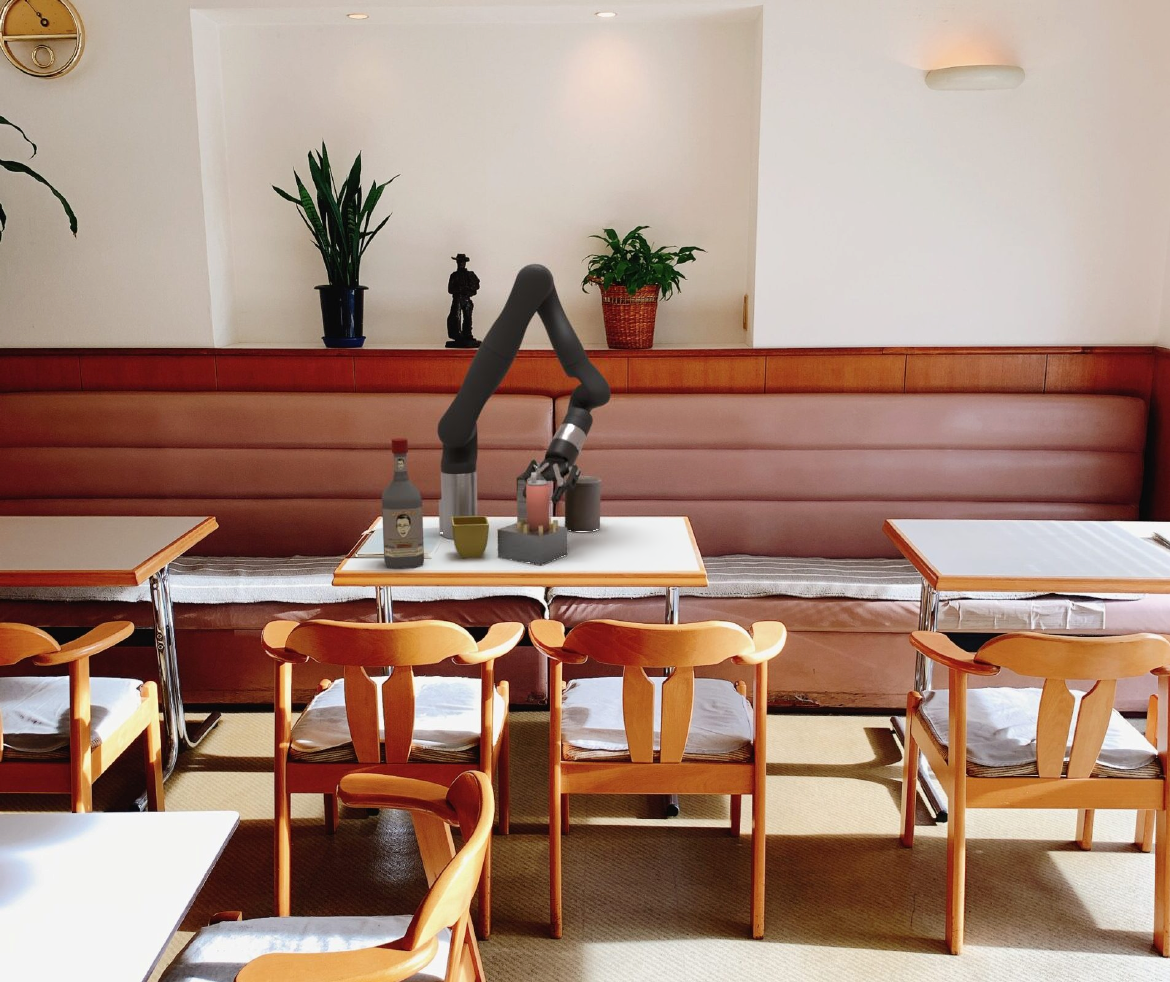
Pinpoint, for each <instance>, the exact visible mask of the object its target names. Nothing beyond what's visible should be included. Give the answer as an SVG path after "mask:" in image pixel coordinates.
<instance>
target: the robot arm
mask: <svg viewBox="0 0 1170 982" xmlns="http://www.w3.org/2000/svg"><path fill="white" fill-rule="evenodd" d="M536 313H537V315H538V316H539V318H540V321H541V322H542V325H543V326H544V327H543V328H545V331H546V334H547V337H548V338H549V339H548V340H549V342H550V343H551V344H550V345H551V346H552V349H553V352H554V354H555V355H556V358H557V360H558V362H559V364H560V365H561V368H562V370H563V372H564V374H565V375H566V376H567V377H568V378H571V379H572V378H573V379H577V380H578V381H579V383H580V384H578V385H577V386H576V387H575V388H574V390H573V391H572V392H571V394H570V397H569V398H570V399H569V403H568V405H567V413H566V414H565V416H564V419H562V422H561V424H560V426H559V428H558V429H557V430H556V432H555V434H554V436H553V437H552V439H551V441H550V443H549V446H548V447H547V450H546V451H545V455H544V459H543V460H542V461H541V462H538V461H537V460H535V459H532V460H531V461H530V463H529V465H528V466H527V468H526V470H525V471H524V472H525V473H524V472H523V473H524V475H523V477H522V479H523V480H524V481H525V482H526V484H527V482H528V481H531V473H536V479H537V480H545V481H548V482H553V483H557V485H558V486H556V487H555V490H553V494H552V495H551V497H550V498H551V499H550V500H551V501H552V503H553V504H555V505H556V504H558V503H559V502H560V501H561V500H562V497H563V495H565V491H567V490H571V491H572V490H573V489H574V487H575V485H576V483H577V480H578V478H579V476H581V473H582V472H581V470H580V468H579V466H578V465H577V464H575V463H576V460H577V459H578V457H579V455H580V453H581V451H582V448H583V446H584V443H585V440H586V438H587V436H588V434H589V432H590V430H591V429H592V428H591V427H592V425H593V423H594V422H593V421H594V419H593V416H592V414H591V412H592V411H593V410H594V409H597V408H600V407H603V406H605V405H607V404H608V403H609V402H610V399H611V397H612V396H611V388H610V385H609V382H608V381H607V380H606V378H605V377H604V376H603V375H602V374H601V372H600V371H599V370H598V368H597V367H596V366H595V365H594V364H593V363H592V362H591V361H590V358H589V356H588V354H587V353H586V350H585V348H584V346H583V344H582V343H581V340H580V339H579V337H578V335H577V333H576V331H575V329H574V328H573V326H572V324H571V322H570V320H569V318H568V317H567V314H566V313H565V310H564V308H563V305H562V303H561V301H560V298H559V294H558V292H557V289H556V285H555V281H554V276H553V274H552V272H551V270H550V269H549V268H548V267H546V266H545V265H542V264H538V263H532V264H527V265H525V266H524V267H522V268H521V269H520V270H519V271H518V273H517V275H516V278H515V280H514V283H513V285H512V288H511V291H510V293H509V295H508V298H507V299H506V302H505V304H504V306H503V309H502V310H501V312H500V313H499V315H498V317H496V319H495V321H494V322H493V324H492V325H491V327H490V328H489V329H488V331H487V333H486V335H485V336H484V338H483V339H482V341H481V343H480V345H479V347H478V349H477V351H476V353H475V355H474V356H473V359H472V361H471V363H470V366H469V368H468V370H467V372H466V374H465V377H464V379H463V382H462V384H461V387H460V388H459V391H458V393H457V394H456V396H455V398H454V399H453V401H452V402H451V404H450V405H449V406H448V408H447V410H446V411H445V412H444V414H443V415H442V416H441V418H440V419H439V421H438V424H437V435H438V438H439V440H440V442H441V443H442V454H441V459H440V483H441V484H440V487H441V488H440V490H441V498H439V499H438V518H439V519H438V520H439V521H438V523H439V526H438V527H439V533H440V532H443V535H442V536H443V537H444V538H446V539H451V540H452V539H453V540H454V538H453V530H452V522H451V517H467V516H478V492H477V491H478V486H477V485H478V484H477V483H478V480H477V462H478V447H479V446H478V439H479V438H478V437H479V436H478V423H477V421H478V420H479V418H480V415H481V412H482V410H483V409H484V407H485V405H486V403H488V401H489V400H490V398H491V396H492V395H493V394H494V392H495V391H496V390H497V389H498V388H499V386H500V385H501V383H502V381H504V378H505V377H506V376H507V374H508V372H509V371H510V369H511V367H512V365H513V363H514V361H515V359H516V357H517V355H518V353H519V350H520V349H521V346H522V343H523V341H524V337H525V335H526V331H527V329H528V326H529V324H530V322H531V321H532V319H533V317H534V316H535V314H536ZM540 474H542V477H539V475H540ZM528 476H529V477H528ZM566 476H567V478H568V479H567V481H565V479H566ZM522 494H523V497H524V498H525V499H526V486H525V488H524V490H523V492H522Z"/></svg>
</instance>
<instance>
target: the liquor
mask: <svg viewBox="0 0 1170 982" xmlns="http://www.w3.org/2000/svg"><path fill="white" fill-rule="evenodd" d="M408 441H409V440H408V439H407V438H404V437H401V438H400V437H398V438H392V439H391V453H392V454H393V477H392V481H390V483H389V484H388V486H386V488H385V489H384V490H383V492H382V495H381V508H382V509H381V510H382V511H381V517H382V534H383V535H382V537H383V559H384V565H385V566H386V568H388V569H389V568H390V569H394V570H398V569H414V568H419V567H422V566H423V565H424V563H425V547H424V519H423V518H424V515H423V499H422V495H421V493H420V490H419V489H418V488H417V487H416V486H415V484H413V482H412V481H411V480H410V478H409V474H408V459H407V458H408V456H407V455H408V454H407V453H409V446H408Z"/></svg>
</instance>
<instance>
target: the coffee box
mask: <svg viewBox="0 0 1170 982" xmlns="http://www.w3.org/2000/svg"><path fill="white" fill-rule="evenodd" d="M524 473H525V471H524V472H523V473H521V474H520V475H518V476H517V477H516V512H517V513H516V517H517V518H516V523H517V522H520V519H521V518H524V519H525V521H527V503H526V499H525V498H524V497H523V494H522V492H523V490H524V488H525V486H526V482H525V481H524V480H523V479H522V477H523V475H524ZM528 477H529V476H528ZM539 477H542V474H540V475H539ZM536 480H537V479H536ZM548 482H549V481H547V483H548ZM548 484H549V483H548Z"/></svg>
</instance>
